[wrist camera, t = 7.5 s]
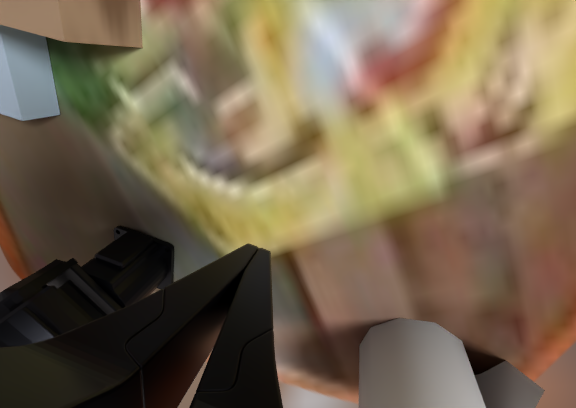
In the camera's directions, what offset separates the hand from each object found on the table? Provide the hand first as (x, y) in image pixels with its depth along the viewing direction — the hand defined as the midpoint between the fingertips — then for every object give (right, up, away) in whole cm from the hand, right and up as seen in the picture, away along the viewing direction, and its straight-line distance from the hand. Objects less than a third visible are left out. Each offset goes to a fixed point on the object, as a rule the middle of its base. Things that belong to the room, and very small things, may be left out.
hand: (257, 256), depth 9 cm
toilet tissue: (+14, -12, +16) cm, 25 cm away
